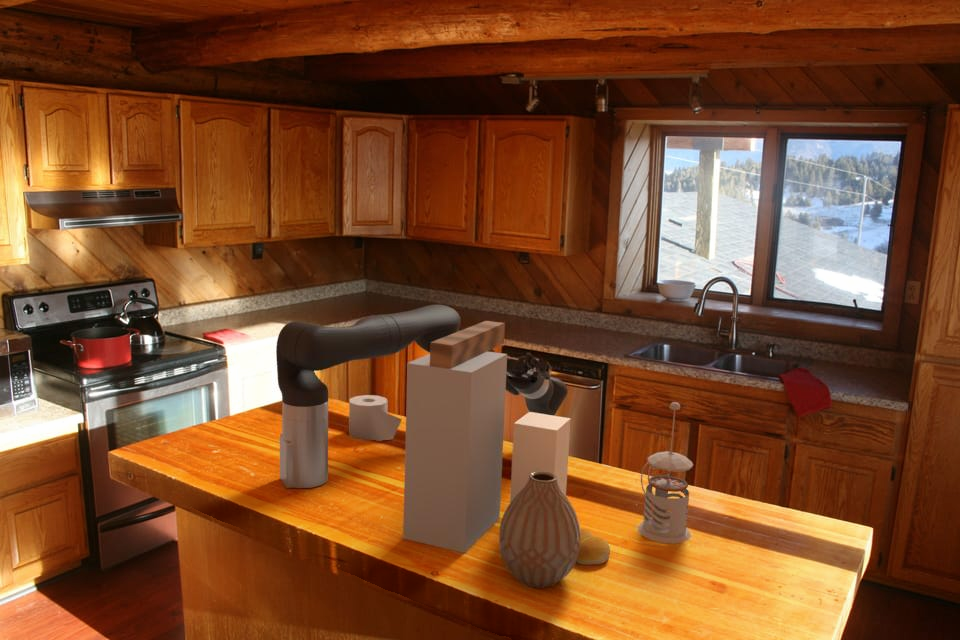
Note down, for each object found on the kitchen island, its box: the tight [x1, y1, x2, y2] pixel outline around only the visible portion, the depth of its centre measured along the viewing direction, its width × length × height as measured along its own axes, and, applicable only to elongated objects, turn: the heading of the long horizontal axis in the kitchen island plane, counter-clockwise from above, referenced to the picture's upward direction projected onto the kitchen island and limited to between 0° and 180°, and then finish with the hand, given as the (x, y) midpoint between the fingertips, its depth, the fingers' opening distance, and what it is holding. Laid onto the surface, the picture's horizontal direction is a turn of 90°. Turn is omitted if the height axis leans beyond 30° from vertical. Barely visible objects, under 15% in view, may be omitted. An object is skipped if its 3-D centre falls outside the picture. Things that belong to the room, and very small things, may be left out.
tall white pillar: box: [402, 351, 508, 554], centre depth 146 cm, size 16×12×32 cm
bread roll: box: [575, 528, 611, 566], centre depth 141 cm, size 8×9×4 cm
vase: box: [498, 471, 581, 589], centre depth 131 cm, size 13×13×18 cm
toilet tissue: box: [348, 394, 403, 442], centre depth 199 cm, size 9×13×9 cm
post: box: [509, 411, 572, 503], centre depth 148 cm, size 8×8×21 cm
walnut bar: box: [429, 320, 506, 369], centre depth 147 cm, size 24×4×4 cm, turn 157°
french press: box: [637, 401, 694, 544], centre depth 150 cm, size 10×12×25 cm
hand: (507, 354), depth 166 cm, fingers open, 8 cm apart
